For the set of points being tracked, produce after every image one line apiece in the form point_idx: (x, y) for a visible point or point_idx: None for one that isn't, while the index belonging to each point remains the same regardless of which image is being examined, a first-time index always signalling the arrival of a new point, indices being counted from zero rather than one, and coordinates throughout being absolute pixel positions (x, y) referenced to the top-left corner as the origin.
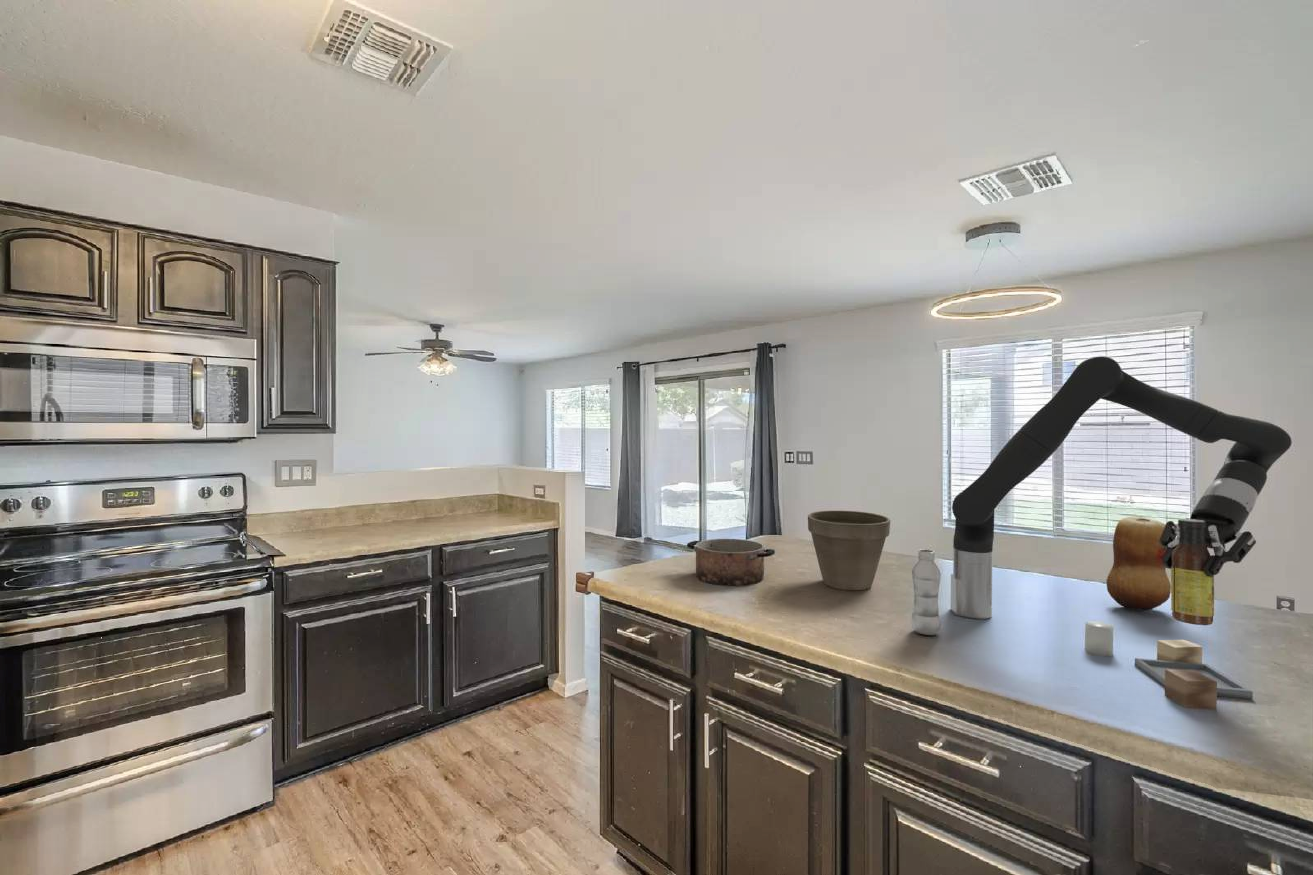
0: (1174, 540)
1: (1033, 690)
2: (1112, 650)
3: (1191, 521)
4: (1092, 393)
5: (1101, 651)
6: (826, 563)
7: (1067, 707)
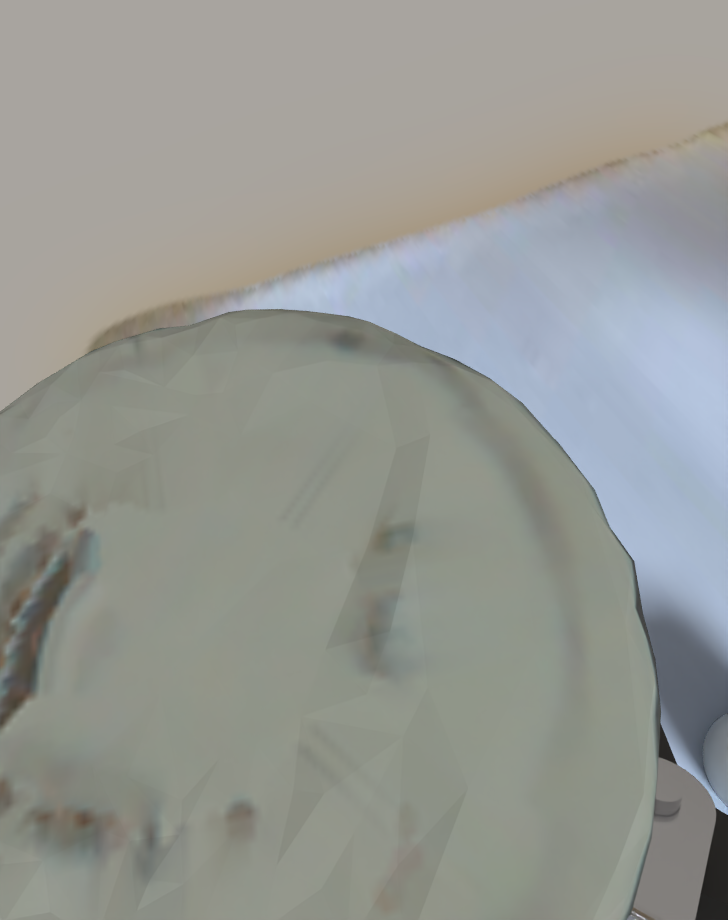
0: (690, 903)
1: (558, 258)
2: (717, 778)
3: (143, 342)
4: None
5: (723, 719)
6: None
7: (460, 251)
